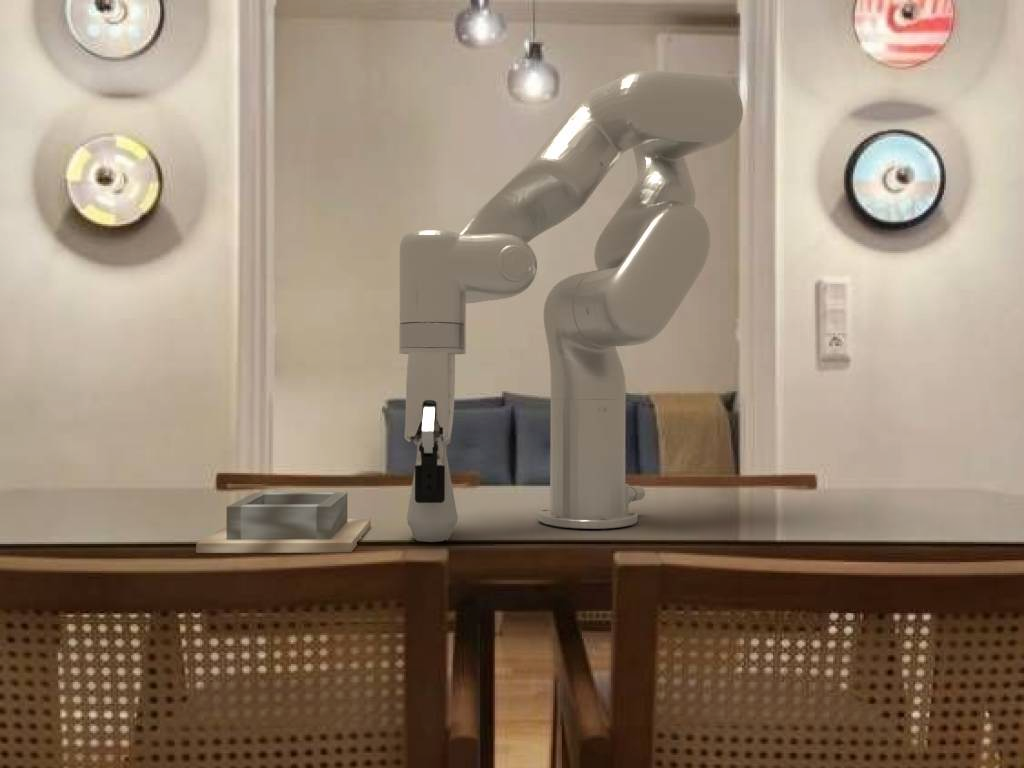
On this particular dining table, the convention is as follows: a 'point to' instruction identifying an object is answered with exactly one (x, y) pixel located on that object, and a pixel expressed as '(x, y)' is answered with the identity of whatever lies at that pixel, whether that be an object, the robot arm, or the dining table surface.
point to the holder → (287, 525)
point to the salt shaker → (433, 509)
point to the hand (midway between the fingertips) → (432, 496)
